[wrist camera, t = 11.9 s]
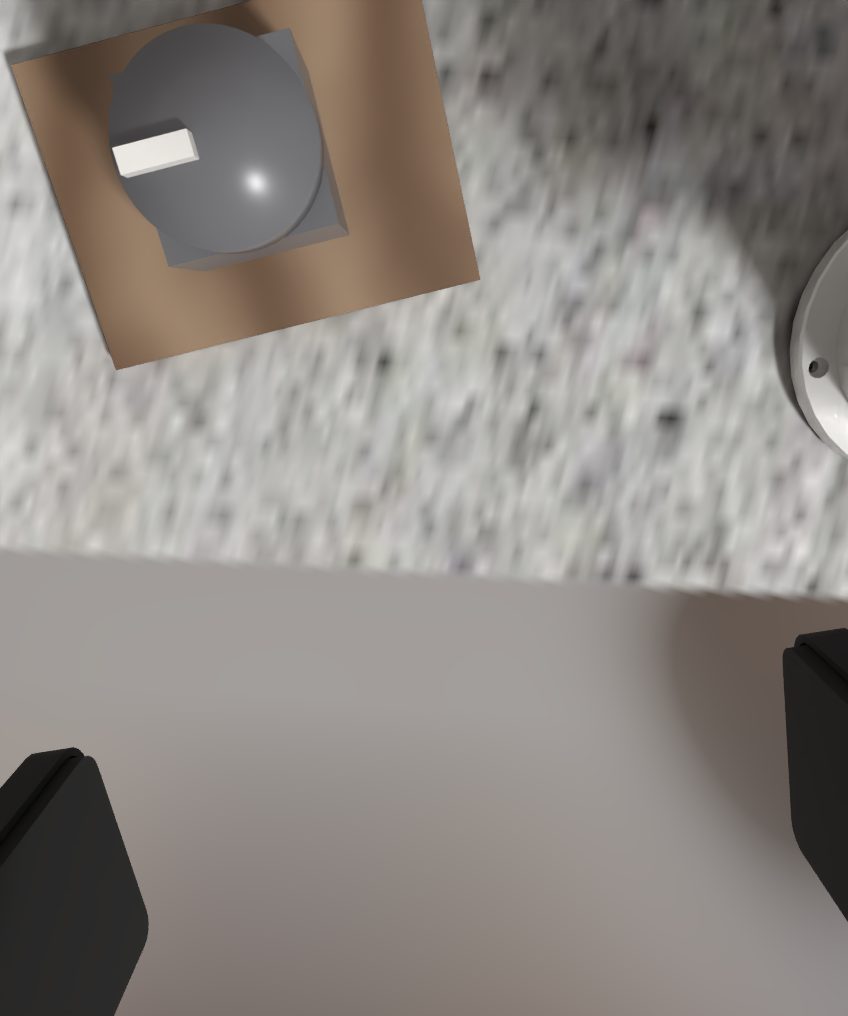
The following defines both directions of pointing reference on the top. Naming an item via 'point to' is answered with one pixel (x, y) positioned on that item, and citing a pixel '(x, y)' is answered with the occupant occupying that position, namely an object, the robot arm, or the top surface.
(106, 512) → the top surface
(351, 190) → the board
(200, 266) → the knob
